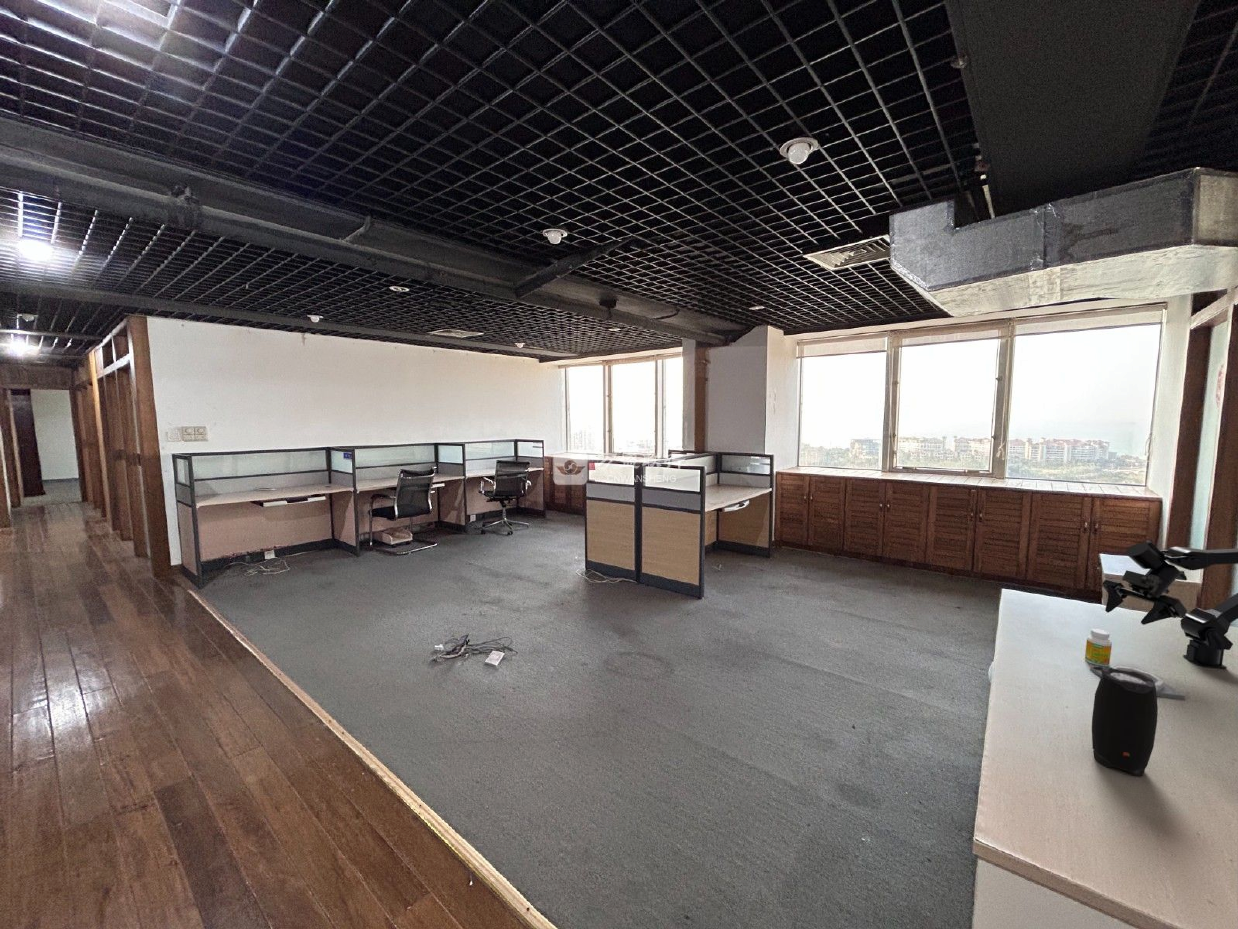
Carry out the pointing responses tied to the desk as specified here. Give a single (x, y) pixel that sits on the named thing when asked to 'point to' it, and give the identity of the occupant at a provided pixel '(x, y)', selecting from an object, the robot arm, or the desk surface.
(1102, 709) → the portable speaker
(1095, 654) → the supplement bottle
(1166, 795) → the desk surface
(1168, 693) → the charging dock
